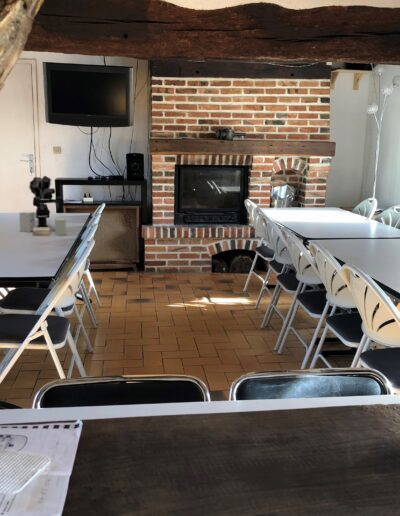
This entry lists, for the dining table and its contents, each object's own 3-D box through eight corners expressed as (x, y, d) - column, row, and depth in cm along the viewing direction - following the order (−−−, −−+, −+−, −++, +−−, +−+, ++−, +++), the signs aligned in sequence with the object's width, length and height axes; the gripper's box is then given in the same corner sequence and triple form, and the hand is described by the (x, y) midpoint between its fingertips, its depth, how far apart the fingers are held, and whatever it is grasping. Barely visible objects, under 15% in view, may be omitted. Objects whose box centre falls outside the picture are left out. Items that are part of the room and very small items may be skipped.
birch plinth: (33, 233, 350) (33, 227, 349) (49, 233, 353) (49, 227, 352) (33, 236, 341) (33, 230, 340) (49, 236, 343) (49, 230, 343)
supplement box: (30, 232, 352) (29, 213, 349) (19, 231, 353) (19, 212, 351) (35, 230, 359) (35, 211, 356) (25, 229, 361) (24, 211, 358)
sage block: (55, 234, 348) (55, 219, 346) (62, 233, 351) (62, 218, 349) (58, 235, 345) (57, 220, 342) (65, 235, 347) (65, 219, 345)
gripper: (32, 184, 349) (37, 200, 340) (61, 184, 358) (66, 199, 349) (30, 197, 356) (35, 213, 347) (59, 197, 365) (64, 212, 356)
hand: (50, 209), depth 350 cm, fingers open, 9 cm apart
